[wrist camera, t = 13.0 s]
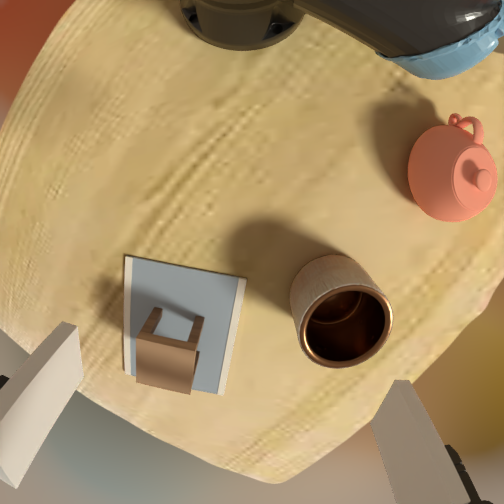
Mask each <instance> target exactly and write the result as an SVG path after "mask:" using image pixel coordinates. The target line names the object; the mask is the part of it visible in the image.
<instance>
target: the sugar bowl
mask: <svg viewBox="0 0 504 504" xmlns="http://www.w3.org/2000/svg"><path fill="white" fill-rule="evenodd" d="M448 124H449V125H439V126H435V127H432V128H430V129H428V130H427V131H425V132H424V133H423V134H422V135H421V136H420V137H419V138H418V139H417V141H416V142H415V144H414V146H413V148H412V150H411V153H410V157H409V162H408V181H409V186H410V190H411V192H412V195H413V197H414V199H415V201H416V202H417V204H418V206H419V207H420V208H421V209H422V210H423V211H424V212H425V213H426V214H428V215H429V216H431V217H433V218H435V219H437V220H441V221H446V222H460V221H464V220H467V219H470V218H472V217H474V216H475V215H477V214H479V213H480V212H481V211H482V210H484V209H485V208H486V207H487V206H488V205H489V203H490V202H491V200H492V199H493V197H494V194H495V191H496V187H497V170H496V166H495V163H494V161H493V159H492V157H491V155H490V153H489V152H488V150H487V149H486V147H485V146H484V145H483V144H482V142H483V137H484V131H483V126H482V124H481V122H480V121H479V120H478V119H477V118H475V117H465V118H463V119H462V117H461V116H460V115H459V114H456V113H454V114H451V115H450V117H449V121H448ZM470 124H473V129H474V134H473V135H472V134H471V133H469V132H468V131H466V130H463V129H462V128H464V127H466V126H468V125H470Z"/></svg>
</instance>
